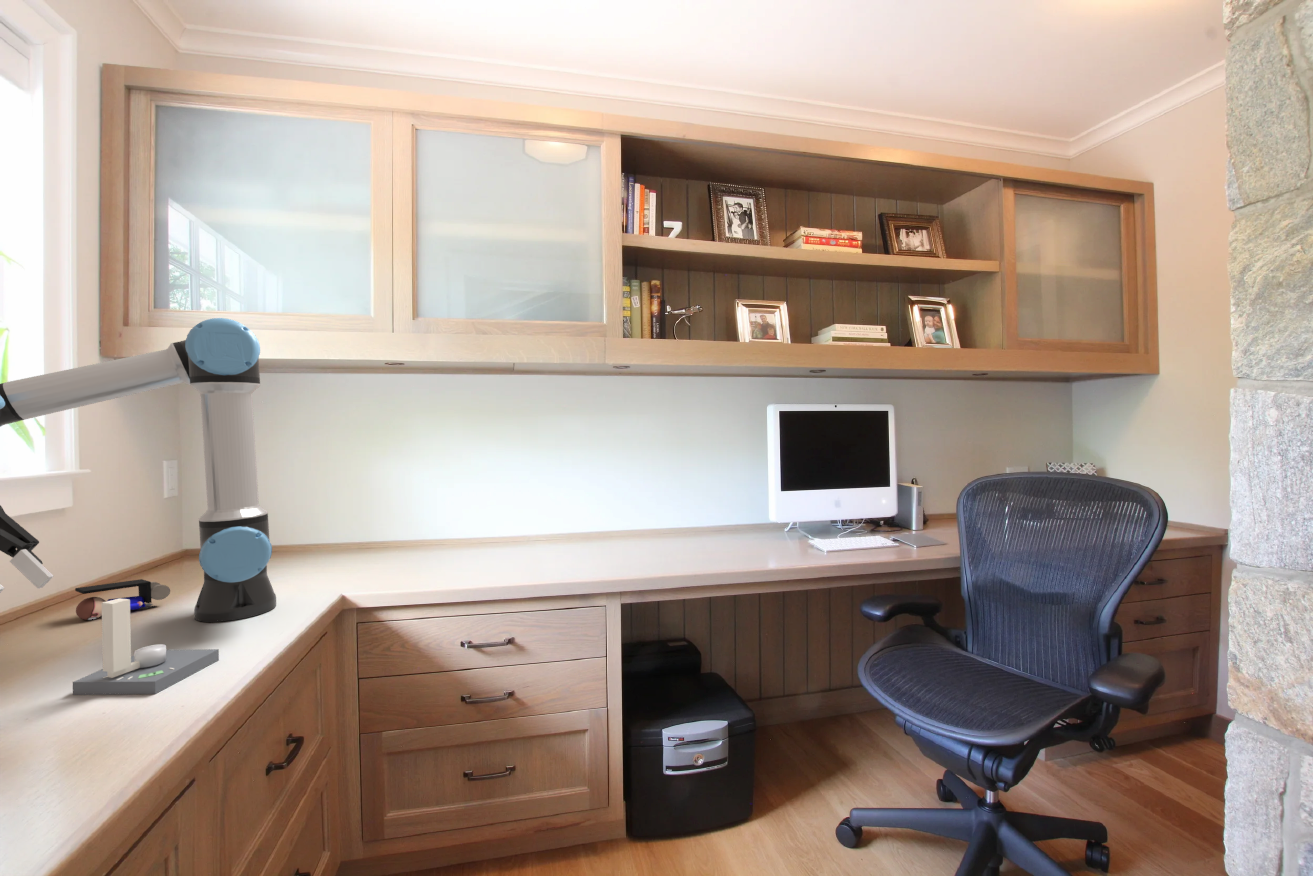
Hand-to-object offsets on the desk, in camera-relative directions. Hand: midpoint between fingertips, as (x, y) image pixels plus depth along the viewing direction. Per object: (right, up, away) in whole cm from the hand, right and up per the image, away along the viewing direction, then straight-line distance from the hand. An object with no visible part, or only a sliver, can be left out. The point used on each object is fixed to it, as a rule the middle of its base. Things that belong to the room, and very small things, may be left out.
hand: (21, 588), depth 90 cm
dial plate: (+16, -16, +5) cm, 24 cm away
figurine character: (-20, -16, +39) cm, 47 cm away
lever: (+16, -14, +3) cm, 21 cm away
